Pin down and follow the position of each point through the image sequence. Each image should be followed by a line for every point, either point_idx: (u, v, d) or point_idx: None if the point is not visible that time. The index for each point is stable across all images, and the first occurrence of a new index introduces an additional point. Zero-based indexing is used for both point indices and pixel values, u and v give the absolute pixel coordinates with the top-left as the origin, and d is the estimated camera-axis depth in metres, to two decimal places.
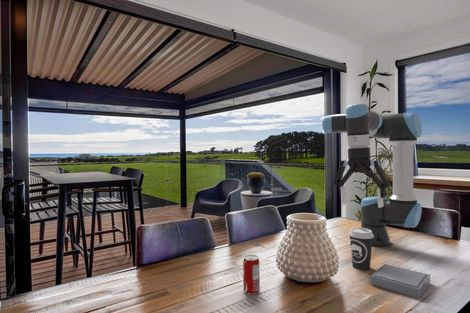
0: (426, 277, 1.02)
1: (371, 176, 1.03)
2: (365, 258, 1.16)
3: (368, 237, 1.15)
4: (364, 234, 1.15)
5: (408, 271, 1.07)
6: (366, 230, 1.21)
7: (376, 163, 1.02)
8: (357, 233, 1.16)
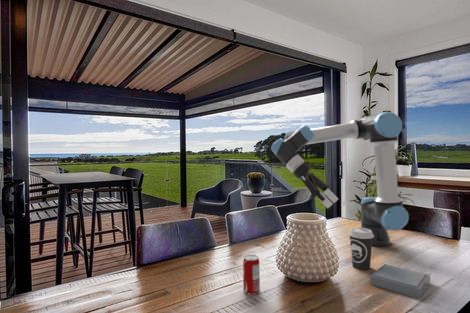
0: (426, 277, 1.02)
1: None
2: (365, 258, 1.16)
3: (368, 237, 1.15)
4: (364, 234, 1.15)
5: (408, 271, 1.07)
6: (366, 230, 1.21)
7: None
8: (357, 233, 1.16)
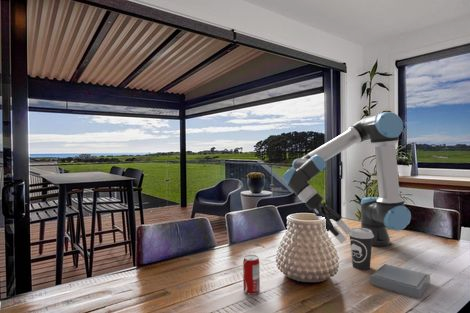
0: (426, 277, 1.02)
1: None
2: (365, 258, 1.16)
3: (368, 237, 1.15)
4: (364, 234, 1.15)
5: (408, 271, 1.07)
6: (366, 230, 1.21)
7: (314, 212, 1.21)
8: (357, 233, 1.16)
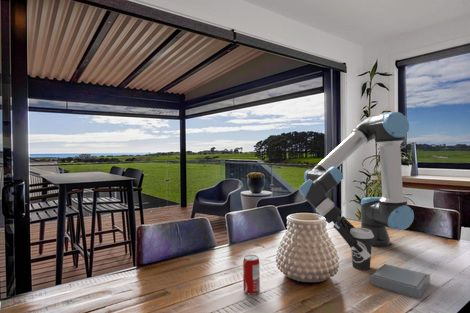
0: (426, 277, 1.02)
1: None
2: None
3: (368, 237, 1.15)
4: (364, 234, 1.15)
5: (408, 271, 1.07)
6: (366, 230, 1.21)
7: (335, 228, 1.18)
8: (357, 233, 1.16)
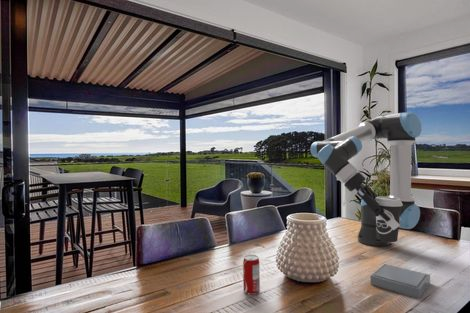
0: (426, 277, 1.02)
1: None
2: (392, 229, 1.03)
3: (396, 205, 1.02)
4: (392, 201, 1.02)
5: (408, 271, 1.07)
6: (393, 199, 1.08)
7: None
8: (384, 200, 1.03)
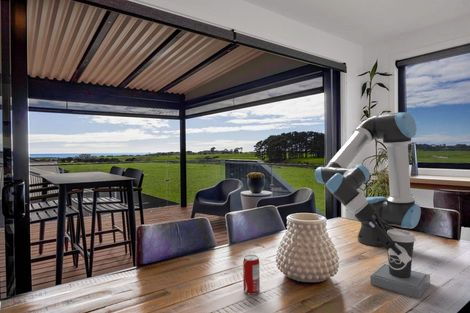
0: (426, 277, 1.02)
1: None
2: (406, 265, 1.01)
3: (410, 240, 0.99)
4: (405, 237, 1.00)
5: None
6: (405, 232, 1.05)
7: (369, 226, 1.03)
8: (396, 236, 1.01)
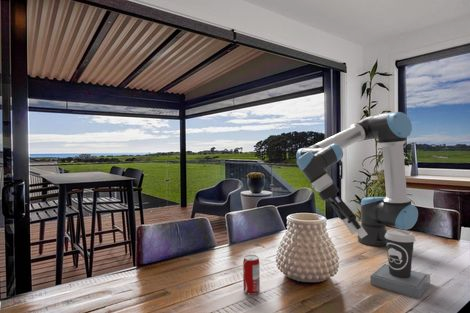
0: (426, 277, 1.02)
1: (341, 212, 1.09)
2: (405, 265, 1.01)
3: (410, 240, 0.99)
4: (405, 237, 1.00)
5: None
6: (405, 232, 1.05)
7: (335, 201, 1.08)
8: (396, 236, 1.01)
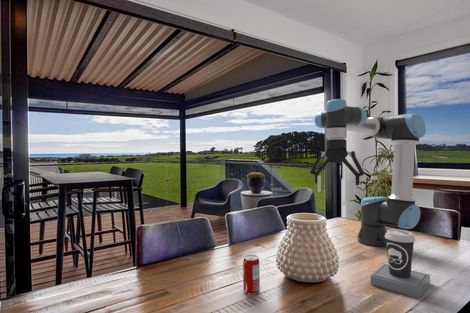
0: (426, 277, 1.02)
1: (348, 165, 1.13)
2: (405, 265, 1.01)
3: (410, 240, 0.99)
4: (405, 237, 1.00)
5: None
6: (405, 232, 1.05)
7: (353, 153, 1.12)
8: (396, 236, 1.01)
